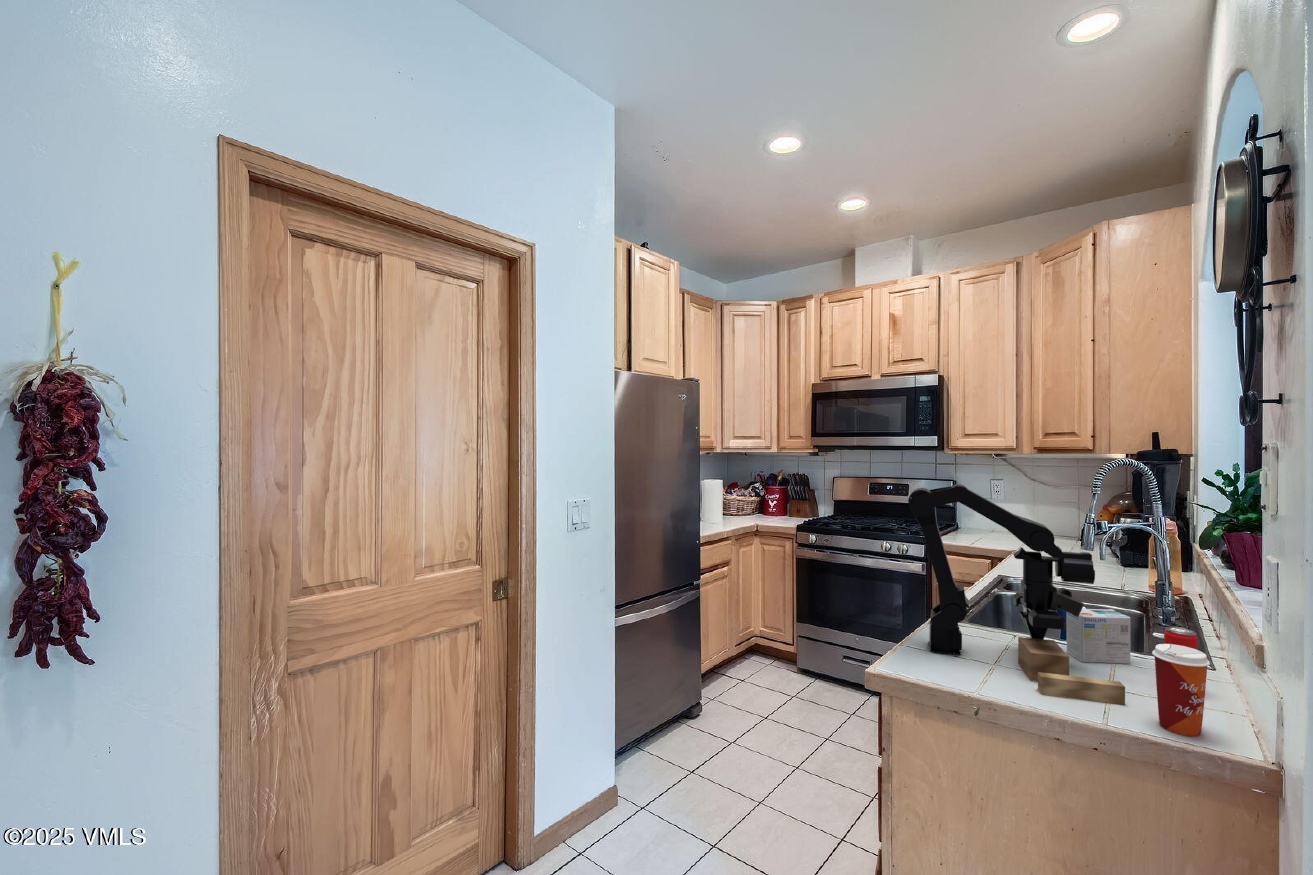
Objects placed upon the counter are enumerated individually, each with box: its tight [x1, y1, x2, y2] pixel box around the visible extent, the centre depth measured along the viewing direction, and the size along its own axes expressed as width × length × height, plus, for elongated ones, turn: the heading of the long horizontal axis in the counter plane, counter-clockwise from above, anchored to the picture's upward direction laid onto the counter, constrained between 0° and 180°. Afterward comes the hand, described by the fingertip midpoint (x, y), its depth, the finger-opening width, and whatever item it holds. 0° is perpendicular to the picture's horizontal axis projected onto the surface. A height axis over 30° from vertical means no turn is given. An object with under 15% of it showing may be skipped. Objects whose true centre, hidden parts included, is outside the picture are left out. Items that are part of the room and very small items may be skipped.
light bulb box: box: [1065, 608, 1131, 664], centre depth 138 cm, size 11×7×11 cm, turn 84°
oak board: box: [1037, 672, 1126, 705], centre depth 118 cm, size 14×2×4 cm, turn 70°
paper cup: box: [1151, 643, 1211, 738], centre depth 105 cm, size 8×8×14 cm
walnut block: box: [1017, 636, 1070, 683], centre depth 129 cm, size 7×10×6 cm
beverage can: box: [1163, 626, 1199, 650], centre depth 122 cm, size 5×5×12 cm
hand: (1037, 647), depth 135 cm, fingers closed
